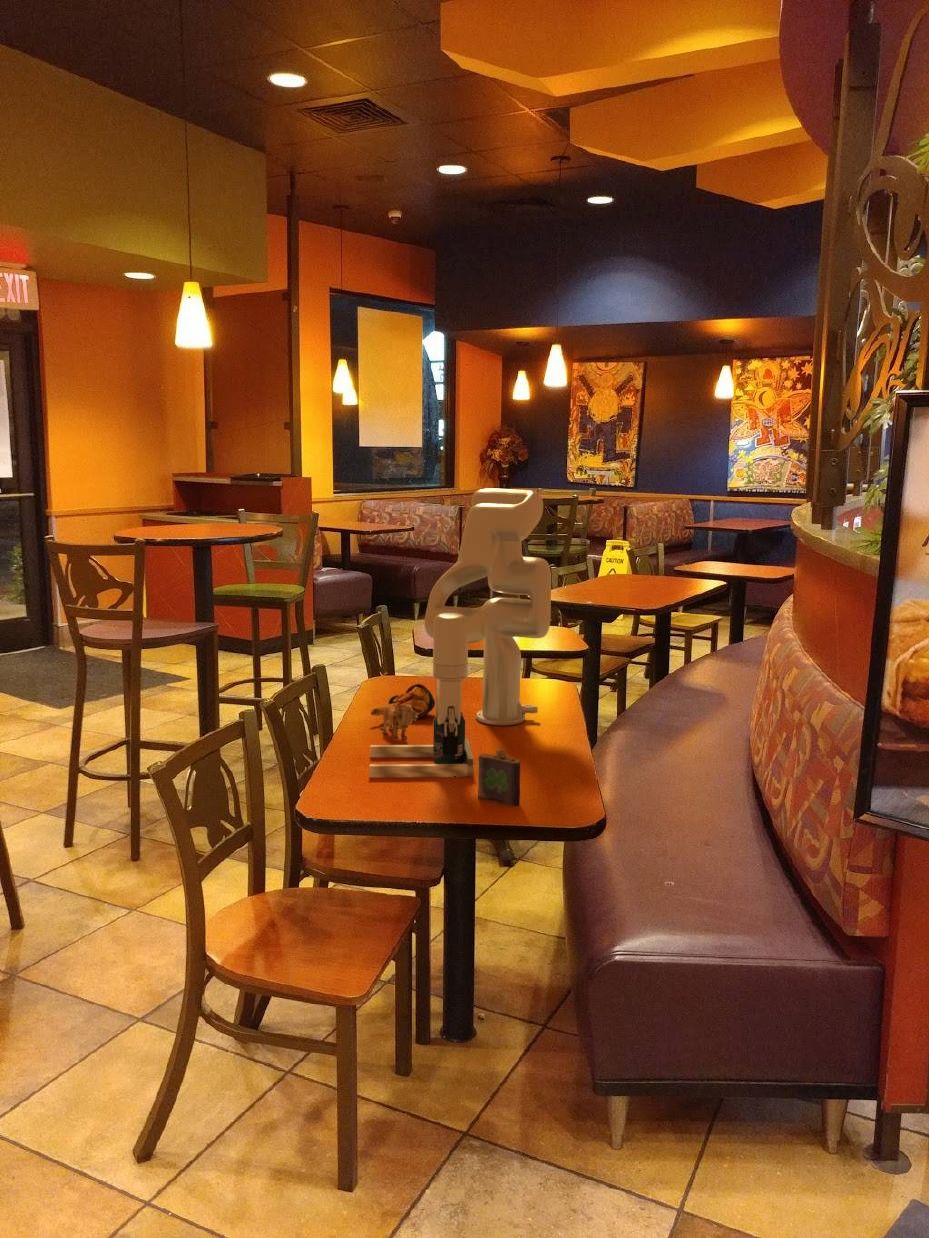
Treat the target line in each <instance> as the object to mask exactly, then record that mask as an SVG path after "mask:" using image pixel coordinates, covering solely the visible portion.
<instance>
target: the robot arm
mask: <svg viewBox="0 0 929 1238" xmlns="http://www.w3.org/2000/svg"><path fill="white" fill-rule="evenodd" d="M543 512H544V501H543V498H542V496H541V494H540V493H539V492H538V491H536V490H531V489H515V488H514V489H512V488H499V487H498V488H492V487H491V488H482V489H478V490H476V491H475V492H474V493H473V494H472V497H471V508H469V510H468V513H467V515H466V519H465V525H464V527H463V532H462V538H461V542H460V547H459V551H458V557H457V560H456V562H455V563H454V564H453V566H451V567H450V568H449V569H447V570H446V571H445V572H444V573H443V574H442V575H441V576H440V577H439V579H438V580H437V581H436V582H435V584H434V585H433V587H432V589H431V591H430V593H429V598H428V601H427V606H426V610H425V614H424V615H425V617H424V630H425V632H426V634H427V635H428V636H429V637H431V638H432V639H433V640H432V641H433V643H432V644H433V645H432V678H433V679H435V680H436V695H435V697H436V699H435V717H437V723H438V724H439V725H441V724H444V736H443V754H457V753H458V736H457V725H458V724H459V723H460V716H461V712H462V699H463V698H462V695H463V694H462V692H463V691H462V690H463V680H467V679H468V672H469V671H468V668H469V662H468V661H469V655H468V654H469V644H473V643H474V644H475V643H478V642H481V641H482V640H483V669H482V670H483V673H482V674H483V675H482V676H483V677H482V678H483V680H482V681H483V682H482V709H481V710H479V711H478V712H476V714H475V719H476V720H477V721H478V722H479V723H483V724H487V725H491V726H513V725H519V724H521V723H523V722H524V721H525V720H526V714H538V711H539V710H538V709H539V708H538V705H532V704H529V703H528V704H523V703H522V702H521V700H520V698H521V697H520V696H521V693H520V692H521V668H522V667H521V665H522V652H521V649H520V646H519V645H518V643H517V642H516V640H515V637H516V638H526V639H527V638H529V639H541V638H544V637H546V636H547V635H548V633H549V630H550V626H551V615H552V614H551V611H552V608H551V607H552V602H551V601H552V571H551V567H550V564H549V562H548V561H547V560H546V559H544V558H542V557H536V556H523V551H522V550H523V549H522V547H523V546H522V542H523V541H524V540H525V539H527V538H528V536H530V534H531V533H532V532H533V531H534V529H535V528H536V526H537V525H538V524H539V522H540V521H541V519H542V516H543ZM486 577H487V583H488V588H489V589H490V590H491V591H493V592H495V593H501V594H509V595H524V596H528V597H529V598H530V599H523V598H514V597H492V598H490V599H488V600H486V601H485V602H484V604H482V607H481V609H478V608H471V607H461V606H451V605H449V606H448V605H445V604H446V602H447V600H448V599H449V596H450V595H452V593H454V592H455V591H456V590H457V589H459V588H461V587H463V586H465V585H468V584H471V583H473V582H475V581H477V580H478V581H479V580H481V579H484V578H486ZM457 719H458V721H457ZM446 721H449V722H446ZM447 726H449V727H447Z"/></svg>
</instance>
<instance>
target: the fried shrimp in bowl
mask: <svg viewBox="0 0 929 1238" xmlns="http://www.w3.org/2000/svg"><path fill="white" fill-rule="evenodd" d="M403 705H412V709H413V710H414V711H415V712H417V713H418V714H419V715H418V717H417V718H416V719H420V718H421V717H425V716H427V715H428V714H429V713H430V712H431V711H432V710H433V709H434V708H435V707H436V700H435V698H434V696H433V694H432V692H431V691H430V690H429V689H428V688H427V687H426V686H425V685H424V684H422V683H415V684H412V685H411V686H409V687H408V688H407V690H406V691H405V693H400V694H396V695H394V696H391V697H390V699H389V700H388V704H387V705H381V706H378V707H377V708H373V709H371V711H370V715H371V716H375V717H377V716H378V717H379V716H381V715H384V710H385V708H386V707H387V706H394V707H395V708H399V707H400V706H403Z"/></svg>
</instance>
